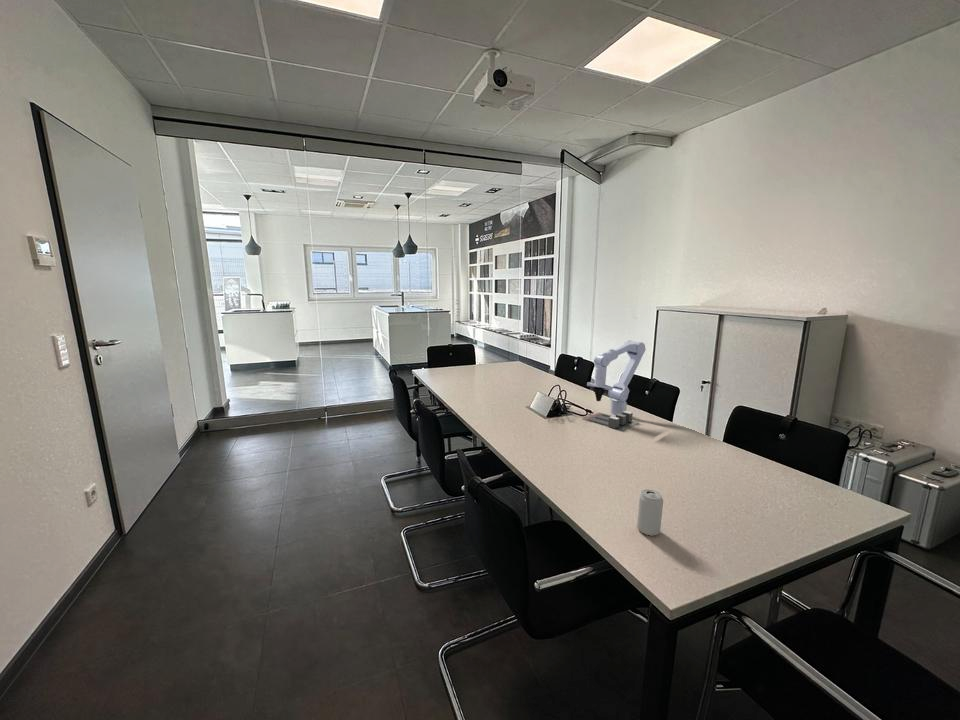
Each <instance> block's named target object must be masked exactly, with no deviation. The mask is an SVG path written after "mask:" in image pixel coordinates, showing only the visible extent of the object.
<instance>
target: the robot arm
mask: <svg viewBox="0 0 960 720" xmlns="http://www.w3.org/2000/svg"><path fill="white" fill-rule="evenodd" d="M645 344H646V343H644V342H643V341H640V342H639V341H633V340H627V341H625V342H624V344H622V345H620V346H619V347H617V348H616V349H614V348H609V350H608V351H605V352H603V353H602V354H597V355H596V356H595V357H594V359H593V363H594V367H595V375H594V382H591V381H588V382H586V386H587V387H593V389H592V390H593V392H594V395H595V399H596V402H601V401H602V398H603V395H604V394H605V392H606V390H607V391H608V392H607V393H608V394H607V395H608V397H609V398H610V410H609V414H610V415H615V416H616V414H622V412H623V411H627V407H628V403H627V400H628V397H629V393H630V389H629V387H628V385H629V384H630V382H631V380H632V378H633V376H634V374H635V372H636V371H637V368H638V367H639V365H640V363H641V360H642V358H643V356H644V354H645V352H646V345H645ZM624 353H627V355H628V357H629V360H628V363H627V365H626V367H625V369H624V370H623V372H622V374H621V375H620V377H619V380H618V382H616V383H613V384H612V386H610V385H608V384H606V382H607V371H608V369H607V367H608V366H610V364H611V363H612V362H613V361H615V360H617V359H618V358H619V356H620V355H622V354H624Z"/></svg>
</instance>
